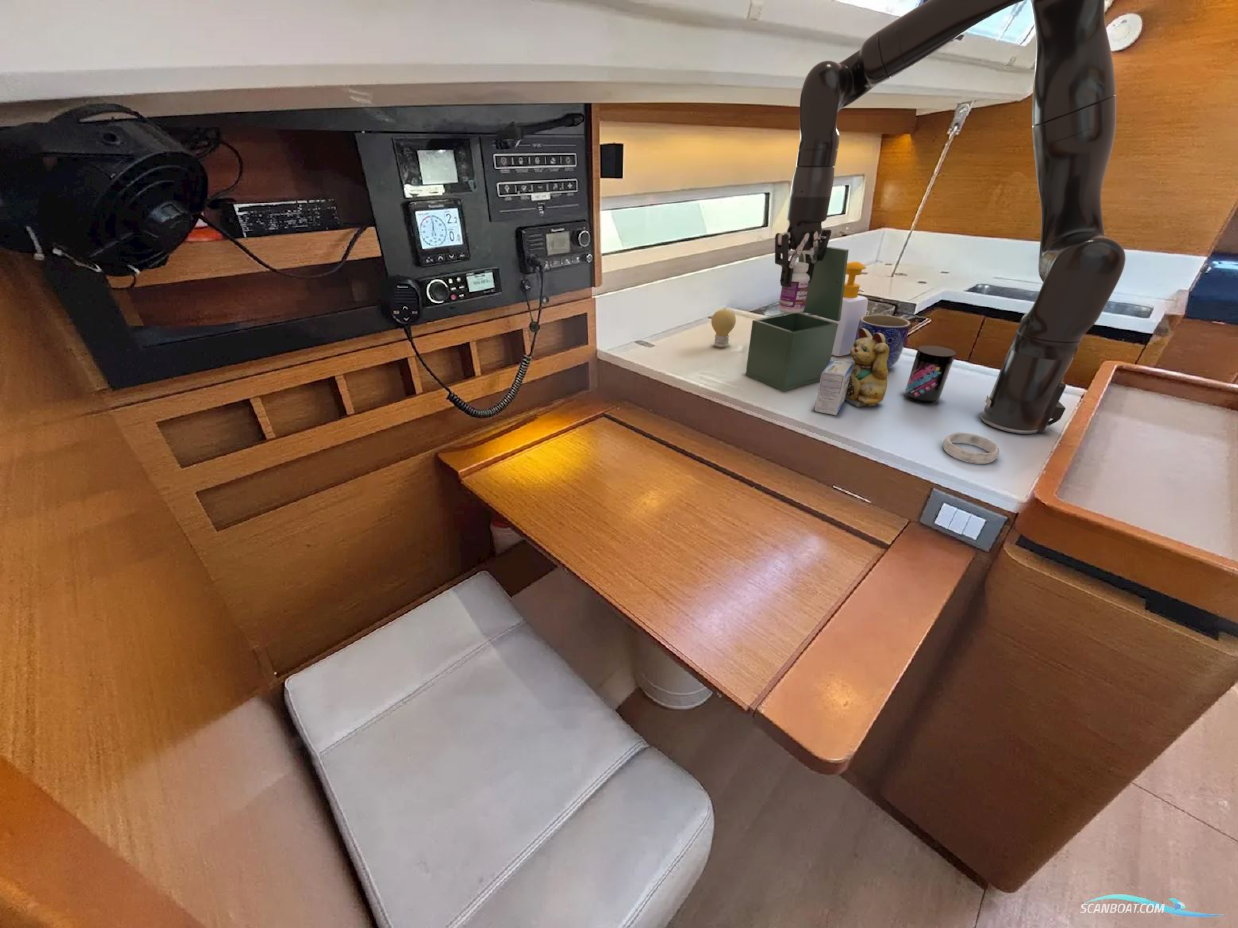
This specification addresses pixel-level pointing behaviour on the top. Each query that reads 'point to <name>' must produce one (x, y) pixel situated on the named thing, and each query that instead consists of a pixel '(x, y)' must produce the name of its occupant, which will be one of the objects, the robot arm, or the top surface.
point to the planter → (887, 333)
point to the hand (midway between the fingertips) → (795, 284)
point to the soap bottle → (849, 312)
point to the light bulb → (723, 326)
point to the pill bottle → (795, 290)
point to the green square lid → (827, 284)
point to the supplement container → (929, 374)
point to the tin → (790, 349)
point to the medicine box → (833, 387)
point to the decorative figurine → (868, 370)
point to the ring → (968, 455)
